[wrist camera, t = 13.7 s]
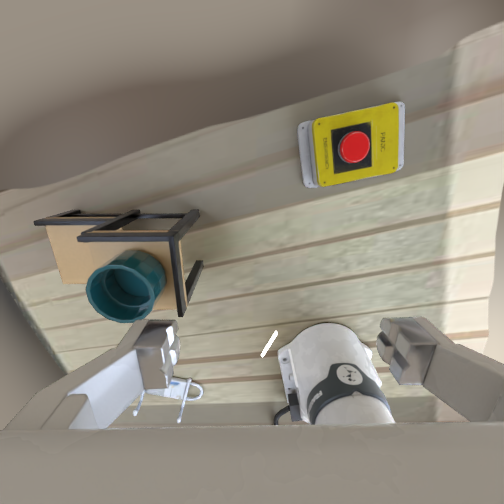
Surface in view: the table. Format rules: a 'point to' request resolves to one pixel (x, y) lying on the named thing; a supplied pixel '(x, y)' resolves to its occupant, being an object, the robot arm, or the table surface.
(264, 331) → the table surface
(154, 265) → the cup
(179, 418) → the wall mount rack
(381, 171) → the emergency button
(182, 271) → the rack
